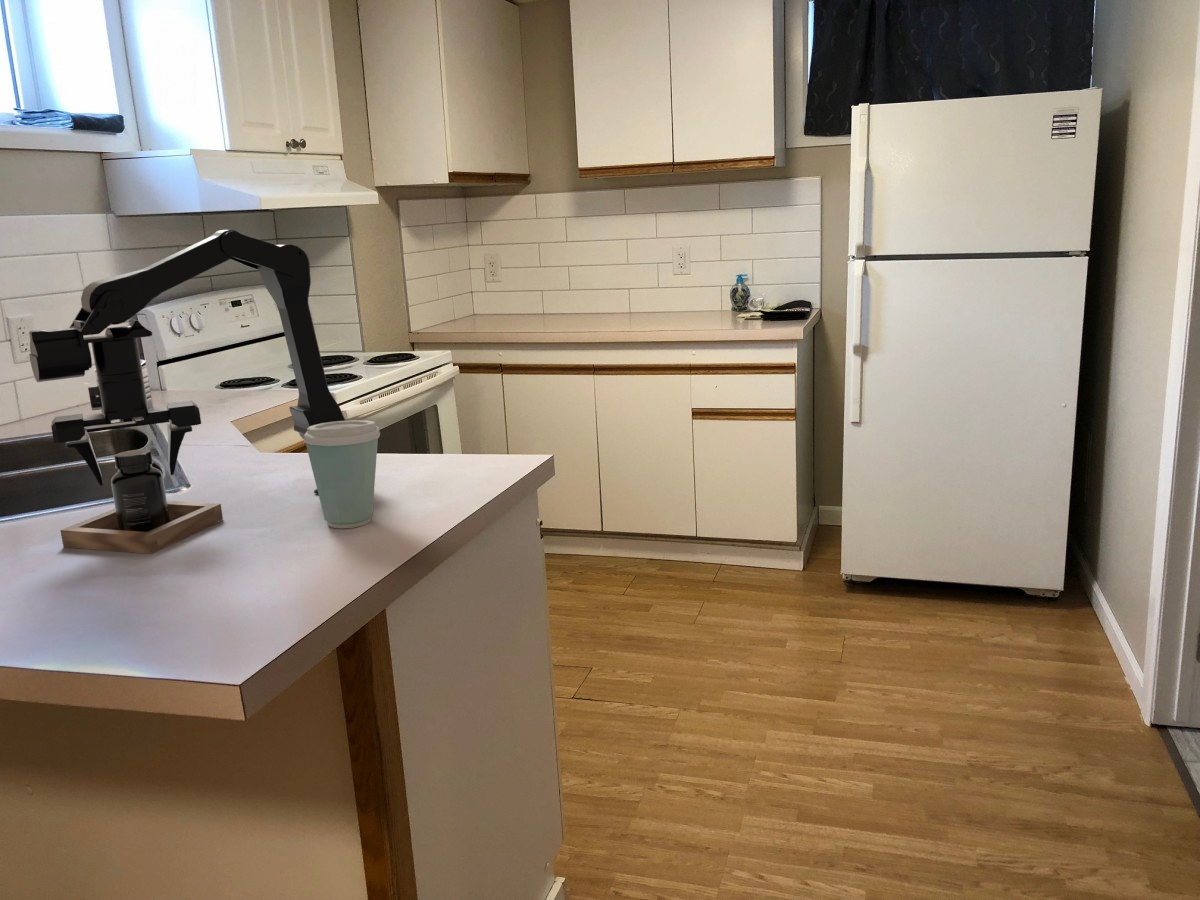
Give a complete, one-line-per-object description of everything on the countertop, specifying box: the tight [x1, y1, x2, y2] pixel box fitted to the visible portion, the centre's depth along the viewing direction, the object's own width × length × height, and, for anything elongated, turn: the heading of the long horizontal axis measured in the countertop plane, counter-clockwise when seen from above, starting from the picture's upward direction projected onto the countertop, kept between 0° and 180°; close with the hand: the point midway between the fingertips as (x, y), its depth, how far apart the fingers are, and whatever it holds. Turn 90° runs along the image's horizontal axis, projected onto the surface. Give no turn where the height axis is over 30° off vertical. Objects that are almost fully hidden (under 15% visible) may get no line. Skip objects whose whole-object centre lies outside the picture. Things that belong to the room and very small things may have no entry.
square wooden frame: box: [59, 500, 224, 555], centre depth 141 cm, size 15×15×2 cm
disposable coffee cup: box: [303, 419, 381, 529], centre depth 141 cm, size 11×11×15 cm
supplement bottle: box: [110, 449, 171, 532], centre depth 140 cm, size 7×7×12 cm
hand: (137, 479), depth 140 cm, fingers open, 9 cm apart
